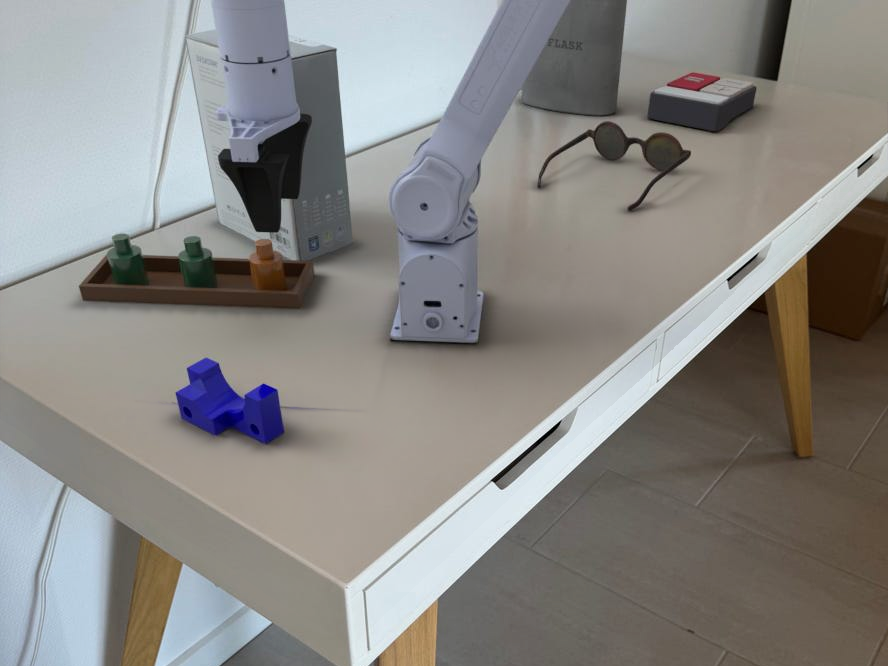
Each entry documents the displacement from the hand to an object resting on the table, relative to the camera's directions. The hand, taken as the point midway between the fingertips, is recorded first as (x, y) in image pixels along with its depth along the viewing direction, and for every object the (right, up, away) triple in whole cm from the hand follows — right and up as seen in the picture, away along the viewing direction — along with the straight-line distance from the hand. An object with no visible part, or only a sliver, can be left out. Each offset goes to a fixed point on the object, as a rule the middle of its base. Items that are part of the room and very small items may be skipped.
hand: (278, 213), depth 83 cm
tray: (-9, -6, +7) cm, 13 cm away
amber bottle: (-2, -6, +6) cm, 9 cm away
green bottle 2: (-9, -5, +7) cm, 12 cm away
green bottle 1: (-16, -5, +7) cm, 18 cm away
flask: (+32, +32, +54) cm, 71 cm away
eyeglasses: (+35, +13, +31) cm, 48 cm away
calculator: (+52, +31, +53) cm, 80 cm away
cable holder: (-1, -20, -11) cm, 23 cm away
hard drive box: (-3, +3, +17) cm, 18 cm away
